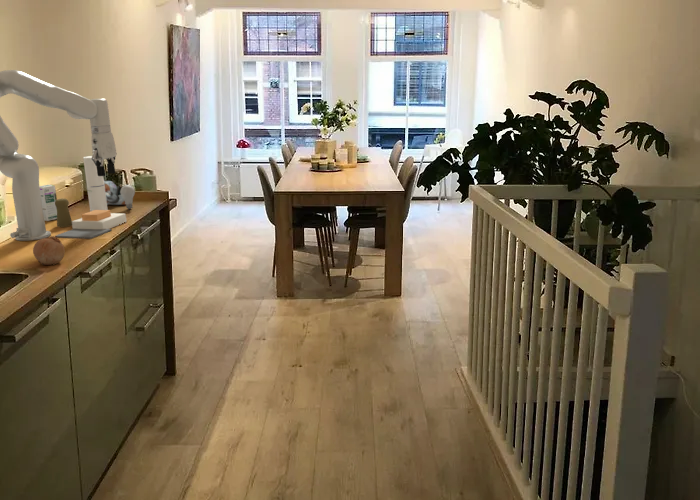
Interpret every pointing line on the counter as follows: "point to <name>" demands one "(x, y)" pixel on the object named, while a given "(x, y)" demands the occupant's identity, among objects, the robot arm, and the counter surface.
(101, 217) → the tile
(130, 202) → the lightbulb
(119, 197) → the lucky cat figurine
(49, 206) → the syrup box
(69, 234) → the mat
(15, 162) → the robot arm
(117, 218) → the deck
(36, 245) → the onion
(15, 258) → the counter surface
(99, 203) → the tall white block
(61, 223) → the olive green shaker
